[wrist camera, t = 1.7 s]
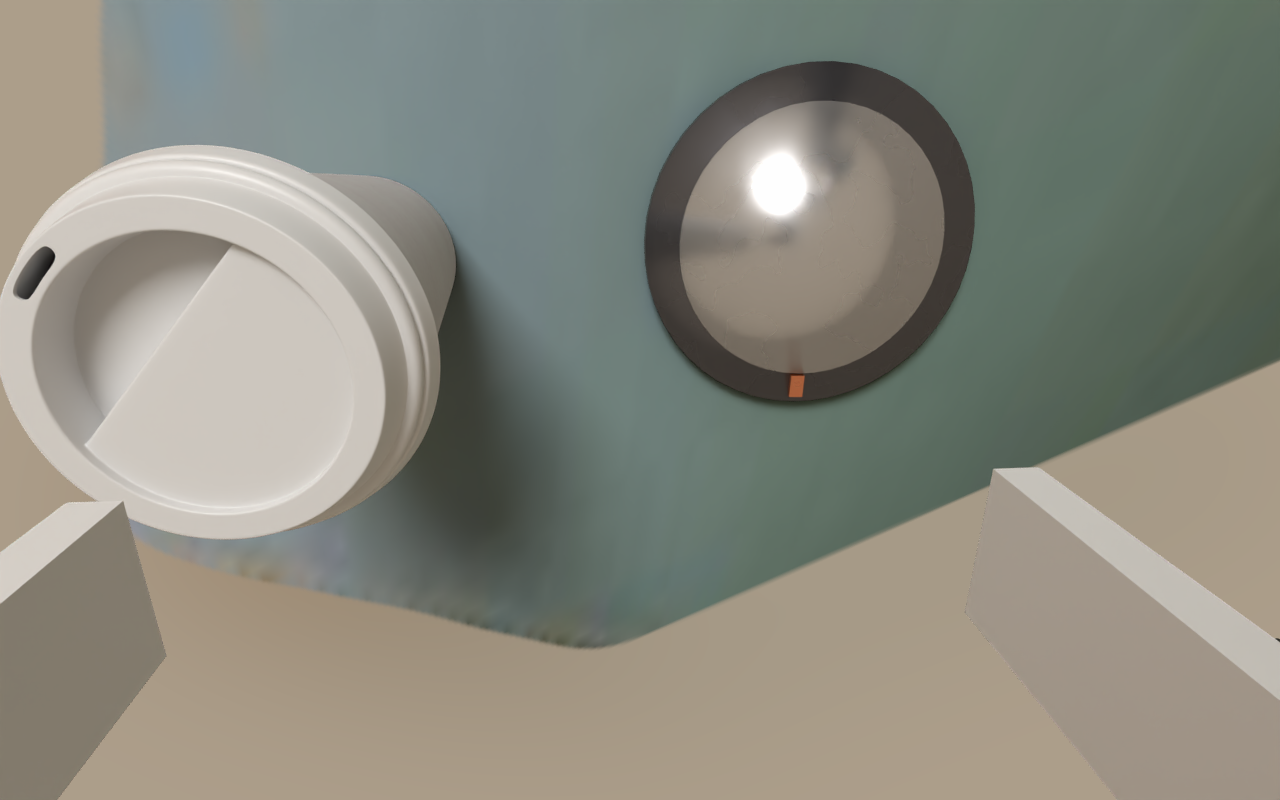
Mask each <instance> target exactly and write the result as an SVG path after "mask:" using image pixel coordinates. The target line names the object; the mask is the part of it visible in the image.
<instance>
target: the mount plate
mask: <svg viewBox="0 0 1280 800" xmlns="http://www.w3.org/2000/svg"><path fill="white" fill-rule="evenodd" d="M974 217H975V204H974V196H973V187H972V181H971V177H970V173H969V169H968V166H967V162H966V159H965V157H964V155H963V152H962V150H961V147H960V145H959V142H958V141H957V139H956V137H955V135H954V134H953V132H952V130H951V129H950V127H949V125H948V124H947V122H946V121H945V120H944V119H943V117H942V116H941V115H940V114H939V112H938V111H937V110H936V109H935V108H934V106H933V105H932V104H930V103H929V102H928V101H927V100H926V99H925V98H924V97H923V96H922V95H920V94H919V93H918V92H917V91H916V90H914V89H913V88H911V87H910V86H908V85H907V84H905V83H903V82H902V81H900V80H899V79H897V78H895V77H892V76H890V75H888V74H886V73H884V72H881V71H879V70H876V69H873V68H869V67H865V66H862V65H858V64H852V63H844V62H836V61H825V62H807V63H801V64H796V65H790V66H785V67H781V68H778V69H775V70H772V71H769V72H766V73H763V74H760V75H758V76H756V77H754V78H752V79H750V80H748V81H746V82H743V83H741V84H739V85H738V86H736V87H735V88H733V89H732V90H730V91H729V92H727V93H726V94H724V95H723V96H721V97H719V98H718V99H717V100H716V101H715V102H713V103H712V104H711V105H710V106H709V107H708V108H707V109H705V110H704V111H703V112H702V113H701V114H700V115H699V116H698V117H697V118H696V119H695V120H694V122H693V123H692V124H691V125H690V126H689V127H688V128H687V129H686V130H685V132H684V133H683V134H682V136H681V137H680V139H679V140H678V142H677V143H676V145H675V146H674V147H673V149H672V150H671V152H670V154H669V156H668V158H667V160H666V161H665V163H664V165H663V167H662V169H661V171H660V173H659V176H658V179H657V181H656V184H655V187H654V189H653V192H652V195H651V199H650V204H649V208H648V212H647V217H646V226H645V236H644V254H645V266H646V273H647V279H648V284H649V287H650V291H651V294H652V297H653V301H654V304H655V306H656V308H657V310H658V312H659V315H660V317H661V319H662V321H663V323H664V325H665V327H666V329H667V330H668V332H669V333H670V335H671V337H672V338H673V340H674V341H675V343H676V344H677V345H678V346H679V347H680V349H681V350H682V351H683V352H684V353H685V355H686V356H687V357H688V358H689V359H690V360H691V361H692V362H694V363H695V364H696V365H697V366H698V367H699V368H700V369H701V370H703V371H704V372H705V373H707V374H708V375H710V376H711V377H713V378H714V379H716V380H717V381H719V382H721V383H723V384H725V385H727V386H729V387H731V388H733V389H735V390H737V391H740V392H743V393H746V394H749V395H752V396H756V397H761V398H766V399H771V400H782V401H806V400H816V399H822V398H827V397H832V396H836V395H839V394H842V393H846V392H849V391H852V390H854V389H857V388H859V387H861V386H863V385H866V384H868V383H870V382H872V381H874V380H875V379H877V378H879V377H881V376H882V375H884V374H886V373H887V372H889V371H890V370H892V369H893V368H894V367H896V366H897V365H898V364H900V363H901V362H902V361H904V360H905V359H906V358H907V357H909V356H910V355H911V354H912V353H913V352H914V351H915V350H916V349H917V348H918V347H919V346H920V345H921V344H922V343H923V342H924V341H925V340H926V338H927V337H928V336H929V335H930V334H931V333H932V331H933V330H934V329H935V328H936V327H937V325H938V324H939V322H940V321H941V319H942V318H943V316H944V315H945V313H946V312H947V310H948V309H949V307H950V305H951V303H952V301H953V299H954V297H955V295H956V293H957V291H958V289H959V287H960V284H961V281H962V279H963V276H964V274H965V271H966V268H967V264H968V260H969V256H970V252H971V248H972V241H973V234H974Z"/></svg>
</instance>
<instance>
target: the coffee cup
mask: <svg viewBox="0 0 1280 800" xmlns="http://www.w3.org/2000/svg"><path fill="white" fill-rule="evenodd" d="M455 273H456V256H455V250H454V245H453V241H452V238H451V236H450V233H449V231H448V229H447V227H446V225H445V223H444V221H443V220H442V218H441V217H440V215H439V214H438V212H437V211H436V210H435V209H434V208H433V207H432V205H431V204H430V203H429V202H428V201H426V200H425V199H424V198H423V197H422V196H421V195H419V194H418V193H416V192H415V191H413V190H412V189H410V188H408V187H407V186H405V185H403V184H400V183H398V182H395V181H393V180H389V179H386V178H382V177H376V176H364V175H342V174H321V173H308V172H306V171H304V170H302V169H299V168H297V167H295V166H293V165H290V164H288V163H285V162H283V161H280V160H277V159H275V158H272V157H268V156H265V155H262V154H258V153H254V152H250V151H246V150H241V149H236V148H229V147H221V146H209V145H182V146H171V147H163V148H157V149H152V150H148V151H144V152H140V153H136V154H133V155H130V156H127V157H124V158H122V159H119V160H117V161H115V162H112V163H110V164H108V165H106V166H104V167H102V168H100V169H99V170H97V171H95V172H94V173H92V174H90V175H89V176H87V177H86V178H85V179H84V180H82V181H80V182H79V183H78V184H76V185H75V186H73V187H72V188H71V189H69V190H68V191H67V192H66V193H64V194H63V195H62V196H61V197H60V198H59V199H58V200H57V201H56V202H55V203H54V204H53V205H52V206H51V207H50V208H49V209H48V210H47V211H46V212H45V214H44V215H43V216H42V217H41V219H40V220H39V221H38V223H37V224H36V226H35V227H34V228H33V230H32V231H31V233H30V234H29V236H28V238H27V239H26V241H25V243H24V245H23V246H22V248H21V250H20V253H19V255H18V257H17V260H16V262H15V265H14V267H13V269H12V270H11V272H10V274H9V276H8V279H7V281H6V283H5V286H4V288H3V291H2V294H1V298H0V376H1V379H2V383H3V386H4V389H5V391H6V394H7V397H8V399H9V402H10V404H11V406H12V408H13V410H14V412H15V414H16V416H17V418H18V420H19V421H20V423H21V425H22V427H23V428H24V430H25V431H26V433H27V434H28V436H29V437H30V439H31V440H32V441H33V443H34V444H35V445H36V447H37V448H38V449H39V450H40V452H41V453H42V454H43V455H44V456H45V457H46V458H47V460H48V461H49V462H50V463H51V464H52V465H53V466H54V467H55V468H56V469H57V470H58V471H59V472H60V473H61V474H62V475H63V476H65V477H66V478H67V479H68V480H69V481H70V482H72V483H73V484H74V485H75V486H76V487H78V488H79V489H80V490H82V491H83V492H84V493H86V494H87V495H89V496H90V497H92V498H93V499H95V500H96V501H98V502H101V501H123V502H124V506H125V509H126V513H127V516H128V518H130V519H132V520H134V521H137V522H139V523H142V524H144V525H147V526H150V527H153V528H156V529H159V530H163V531H166V532H170V533H174V534H179V535H184V536H190V537H196V538H205V539H246V538H254V537H260V536H266V535H270V534H274V533H278V532H282V531H288V530H293V529H297V528H301V527H305V526H308V525H312V524H315V523H318V522H321V521H323V520H326V519H329V518H331V517H334V516H336V515H339V514H341V513H343V512H345V511H347V510H349V509H351V508H352V507H354V506H356V505H358V504H359V503H361V502H362V501H364V500H365V499H367V498H368V497H370V496H371V495H373V494H374V493H376V492H377V491H378V490H380V489H381V488H382V487H384V486H385V485H386V484H387V483H388V482H389V481H391V480H392V479H393V478H394V477H395V476H396V475H397V474H398V473H399V472H400V471H401V470H402V469H403V467H404V466H405V465H406V464H407V463H408V461H409V460H410V459H411V457H412V456H413V455H414V453H415V452H416V450H417V449H418V447H419V445H420V444H421V442H422V440H423V438H424V436H425V434H426V432H427V430H428V427H429V425H430V422H431V420H432V417H433V414H434V410H435V407H436V403H437V398H438V392H439V385H440V348H439V341H438V332H439V329H440V326H441V323H442V319H443V316H444V313H445V310H446V307H447V303H448V300H449V297H450V294H451V291H452V287H453V284H454V279H455Z"/></svg>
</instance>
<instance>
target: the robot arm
mask: <svg viewBox="0 0 1280 800" xmlns="http://www.w3.org/2000/svg"><path fill="white" fill-rule="evenodd" d="M965 613H966V615H967V616H968V617H969V618H970V620H971V621H972V622H973V623H974V624H975V626H976V627H977V628H978V629H979V631H980V632H981V633H982V634H983V635H984V637H985V638H986V639H987V640H988V642H989V643H990V644H991V645H992V647H993V648H994V649H995V650H996V651H997V653H998V654H999V655H1000V656H1001V658H1002V659H1003V660H1004V661H1005V663H1006V664H1007V665H1008V666H1009V667H1010V669H1011V670H1012V671H1013V672H1014V674H1015V675H1016V676H1017V677H1018V678H1019V680H1020V681H1021V682H1022V683H1023V685H1024V686H1025V687H1026V688H1027V690H1028V691H1029V692H1030V693H1031V694H1032V696H1033V697H1034V698H1035V699H1036V701H1037V702H1038V703H1039V704H1040V706H1041V707H1042V708H1043V709H1044V710H1045V712H1046V713H1047V714H1048V715H1049V717H1050V718H1051V719H1052V720H1053V722H1054V723H1055V724H1056V725H1057V726H1058V728H1059V729H1060V730H1061V731H1062V733H1063V734H1064V735H1065V736H1066V737H1067V739H1068V740H1069V741H1070V742H1071V743H1072V745H1073V746H1074V747H1075V749H1076V750H1077V751H1078V752H1079V753H1080V755H1081V756H1082V757H1083V758H1084V760H1085V761H1086V762H1087V763H1088V765H1089V766H1090V767H1091V768H1092V769H1093V770H1094V772H1095V773H1096V774H1097V776H1098V777H1099V778H1100V779H1101V781H1102V782H1103V783H1104V784H1105V785H1106V787H1107V788H1108V789H1109V790H1110V792H1111V793H1112V794H1113V795H1114V797H1115V798H1116V799H1117V800H1280V639H1277V638H1276V639H1274V638H1273V637H1271V636H1270V635H1269V634H1268V633H1266V632H1265V631H1263V630H1262V629H1261V628H1259V627H1258V626H1257V625H1255V624H1254V623H1252V622H1251V621H1250V620H1248V619H1247V618H1246V617H1244V616H1243V615H1241V614H1240V613H1239V612H1237V611H1236V610H1234V609H1233V608H1232V607H1230V606H1229V605H1228V604H1226V603H1225V602H1224V601H1222V600H1221V599H1219V598H1218V597H1217V596H1215V595H1214V594H1213V593H1211V592H1210V591H1208V590H1207V589H1206V588H1204V587H1203V586H1202V585H1200V584H1199V583H1197V582H1196V581H1195V580H1193V579H1192V578H1190V577H1189V576H1188V575H1186V574H1185V573H1184V572H1182V571H1181V570H1179V569H1178V568H1177V567H1175V566H1174V565H1172V564H1171V563H1170V562H1168V561H1167V560H1166V559H1164V558H1163V557H1162V556H1160V555H1159V554H1157V553H1156V552H1155V551H1153V550H1152V549H1151V548H1149V547H1148V546H1146V545H1145V544H1143V543H1142V542H1141V541H1139V540H1138V539H1137V538H1135V537H1134V536H1133V535H1131V534H1130V533H1128V532H1127V531H1126V530H1124V529H1123V528H1122V527H1120V526H1119V525H1118V524H1116V523H1115V522H1113V521H1112V520H1111V519H1109V518H1108V517H1106V516H1105V515H1104V514H1102V513H1101V512H1100V511H1098V510H1097V509H1095V508H1094V507H1093V506H1091V505H1090V504H1089V503H1087V502H1086V501H1084V500H1083V499H1081V498H1080V497H1079V496H1077V495H1076V494H1075V493H1073V492H1072V491H1071V490H1069V489H1068V488H1067V487H1065V486H1064V485H1062V484H1061V483H1060V482H1058V481H1057V480H1056V479H1054V478H1052V477H1051V476H1050V475H1049V474H1047V473H1046V472H1044V471H1043V470H1042V469H1040V468H1039V467H1033V468H1005V469H993V473H992V478H991V483H990V488H989V494H988V498H987V503H986V508H985V513H984V518H983V523H982V528H981V533H980V538H979V543H978V548H977V553H976V558H975V563H974V569H973V574H972V578H971V583H970V588H969V594H968V599H967V603H966V608H965ZM165 657H166V653H165V649H164V646H163V642H162V638H161V635H160V631H159V627H158V624H157V620H156V617H155V613H154V610H153V606H152V603H151V599H150V595H149V592H148V588H147V584H146V581H145V577H144V574H143V570H142V567H141V563H140V559H139V556H138V552H137V549H136V545H135V541H134V538H133V534H132V531H131V527H130V523H129V520H128V516H127V513H126V509H125V506H124V502H123V501H101V502H75V503H74V502H73V503H65V504H64V505H63V506H62V507H60V508H59V509H57V510H56V511H55V512H53V513H52V514H51V515H49V516H48V517H47V518H45V519H44V520H43V521H41V522H40V523H39V524H37V525H36V526H35V527H34V528H32V529H31V530H30V531H28V532H27V533H25V534H24V535H23V536H21V537H20V538H19V539H17V540H16V541H15V542H13V543H12V544H11V545H9V546H8V547H7V548H5V549H4V550H3V551H2V552H0V800H57V799H58V798H59V797H60V795H61V794H62V793H63V791H64V790H65V789H66V788H67V786H68V785H69V784H70V782H71V781H72V780H73V778H74V777H75V776H76V774H77V773H78V772H79V770H80V769H81V768H82V766H83V765H84V764H85V763H86V761H87V760H88V759H89V757H90V756H91V755H92V753H93V752H94V751H95V749H96V748H97V747H98V745H99V744H100V743H101V741H102V740H103V739H104V738H105V736H106V735H107V734H108V732H109V731H110V730H111V728H112V727H113V726H114V724H115V723H116V722H117V720H118V719H119V718H120V716H121V715H122V714H123V713H124V711H125V710H126V709H127V707H128V706H129V705H130V703H131V702H132V701H133V699H134V698H135V697H136V695H137V694H138V693H139V691H140V690H141V689H142V688H143V686H144V685H145V684H146V682H147V681H148V680H149V678H150V677H151V676H152V674H153V673H154V672H155V670H156V669H157V668H158V666H159V665H160V664H161V663H162V661H163V660H164V659H165Z"/></svg>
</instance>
